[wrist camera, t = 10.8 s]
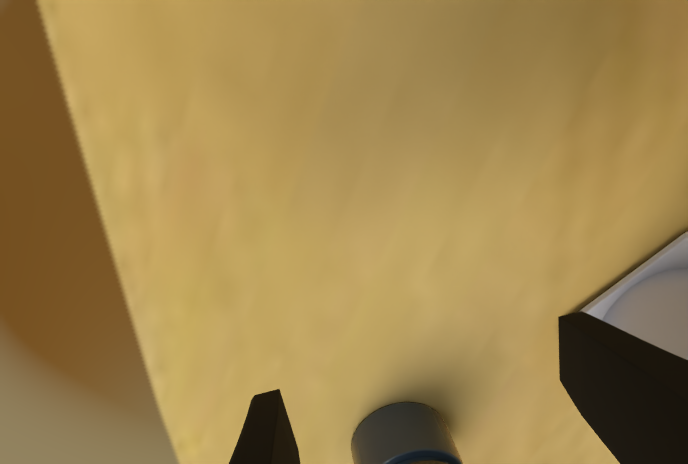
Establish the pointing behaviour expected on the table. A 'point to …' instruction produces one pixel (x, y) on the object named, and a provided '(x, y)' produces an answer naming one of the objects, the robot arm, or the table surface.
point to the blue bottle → (404, 437)
